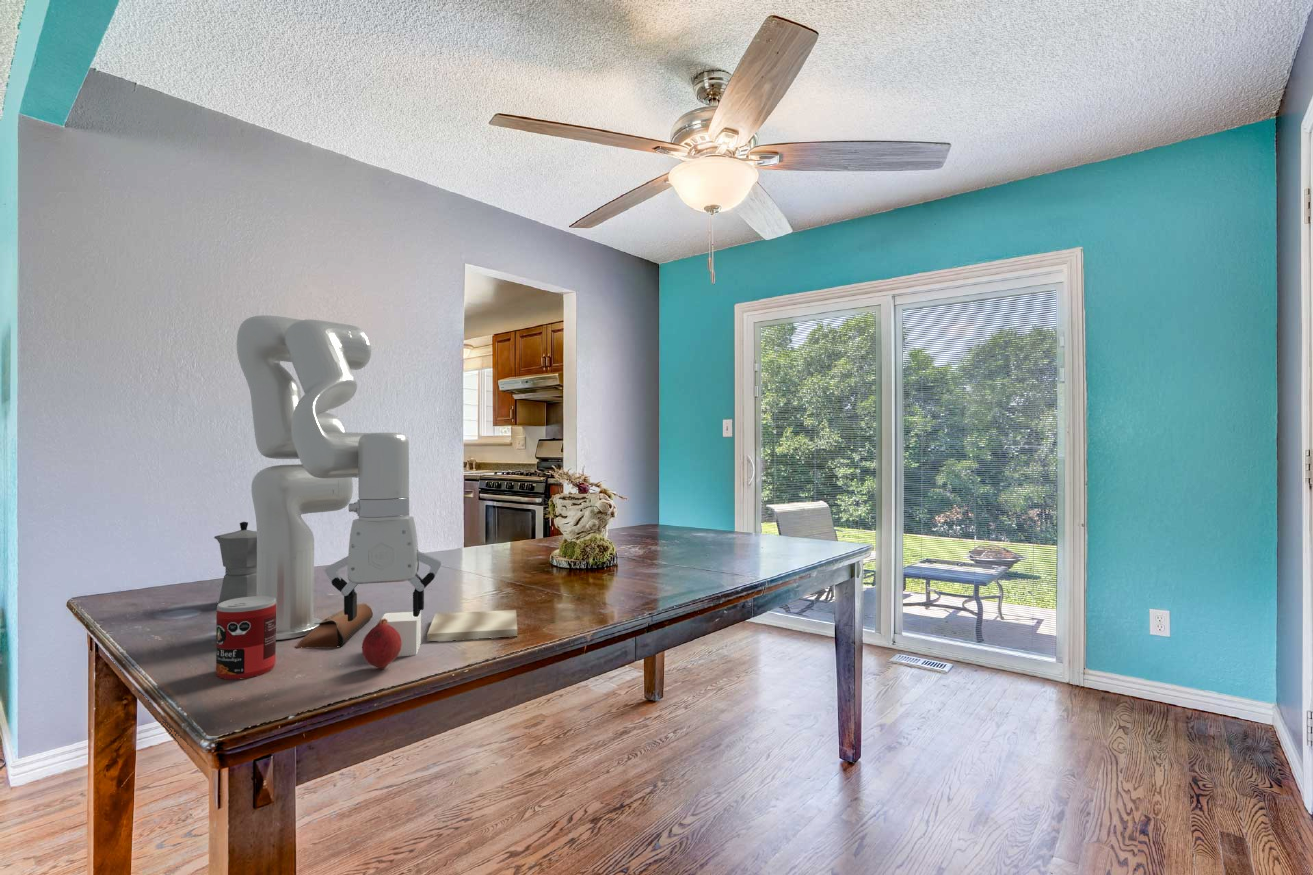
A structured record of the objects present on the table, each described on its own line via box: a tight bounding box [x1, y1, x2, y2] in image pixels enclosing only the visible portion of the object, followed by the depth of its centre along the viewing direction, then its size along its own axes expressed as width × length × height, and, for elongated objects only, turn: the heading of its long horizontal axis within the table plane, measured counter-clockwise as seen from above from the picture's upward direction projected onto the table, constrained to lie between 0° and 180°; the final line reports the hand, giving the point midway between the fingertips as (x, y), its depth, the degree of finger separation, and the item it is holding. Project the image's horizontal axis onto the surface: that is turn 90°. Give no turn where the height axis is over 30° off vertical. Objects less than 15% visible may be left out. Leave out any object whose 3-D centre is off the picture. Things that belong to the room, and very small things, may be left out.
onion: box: [361, 618, 402, 670], centre depth 105 cm, size 6×6×8 cm
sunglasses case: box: [295, 603, 373, 649], centre depth 124 cm, size 18×7×7 cm
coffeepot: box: [213, 521, 257, 605], centre depth 145 cm, size 15×9×18 cm, turn 87°
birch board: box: [426, 609, 518, 642], centre depth 127 cm, size 16×14×2 cm
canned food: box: [215, 596, 277, 680], centre depth 103 cm, size 8×8×11 cm
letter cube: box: [381, 610, 422, 657], centre depth 114 cm, size 6×6×6 cm
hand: (384, 616), depth 104 cm, fingers open, 9 cm apart
